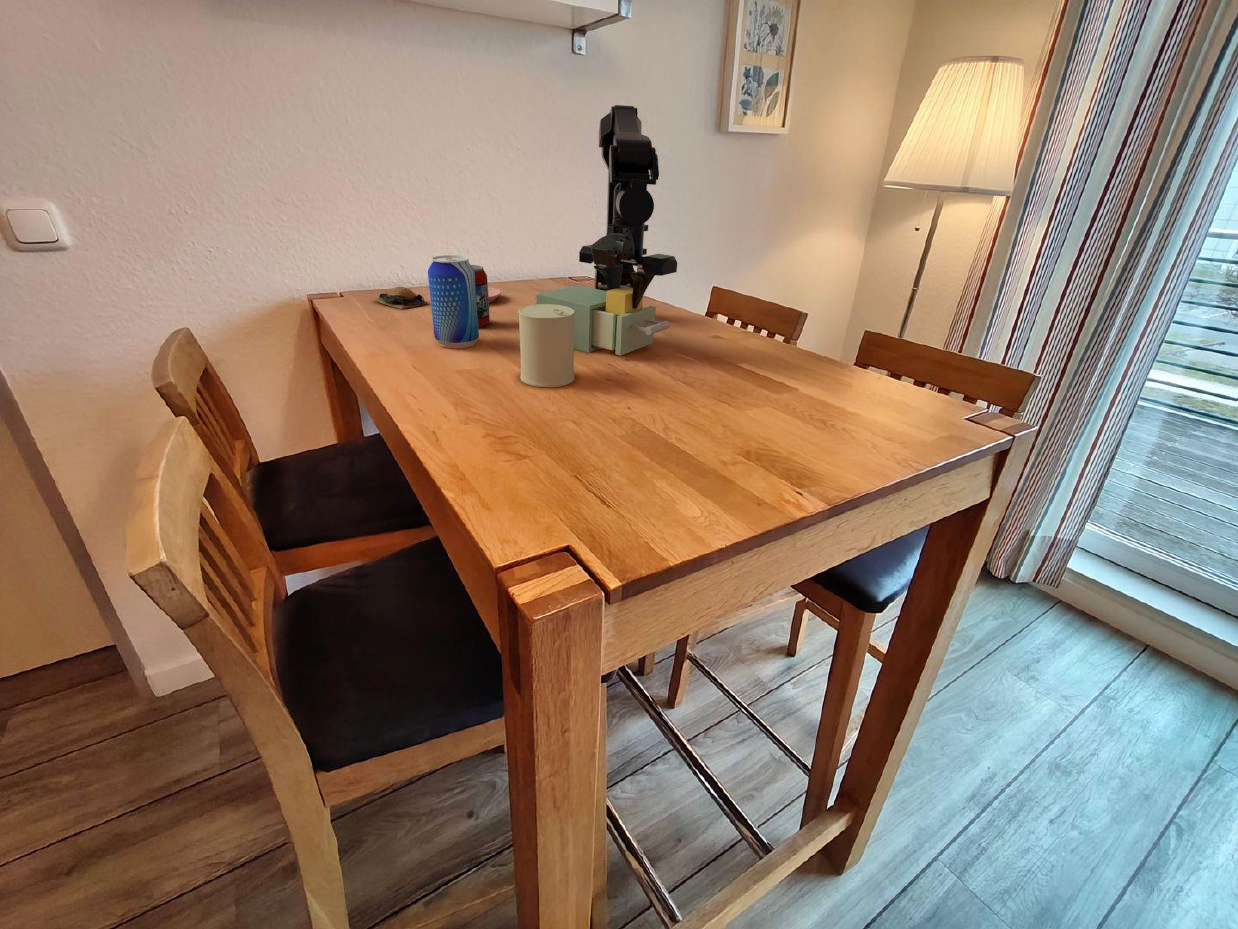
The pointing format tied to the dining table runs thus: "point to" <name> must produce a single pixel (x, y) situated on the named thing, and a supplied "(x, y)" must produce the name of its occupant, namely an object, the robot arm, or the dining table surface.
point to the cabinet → (577, 310)
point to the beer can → (453, 301)
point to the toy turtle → (401, 298)
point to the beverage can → (481, 295)
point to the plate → (493, 293)
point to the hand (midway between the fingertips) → (624, 306)
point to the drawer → (625, 329)
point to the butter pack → (620, 301)
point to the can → (547, 345)
